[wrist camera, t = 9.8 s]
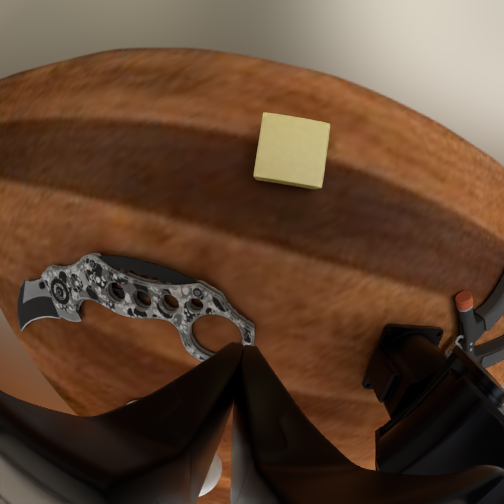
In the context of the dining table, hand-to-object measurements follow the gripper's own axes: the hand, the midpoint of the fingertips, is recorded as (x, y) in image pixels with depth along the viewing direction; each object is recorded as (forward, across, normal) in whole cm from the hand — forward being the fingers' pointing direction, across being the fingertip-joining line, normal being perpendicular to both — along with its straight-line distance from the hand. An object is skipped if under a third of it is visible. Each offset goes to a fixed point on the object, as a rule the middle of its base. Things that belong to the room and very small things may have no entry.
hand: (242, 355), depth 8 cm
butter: (+11, -1, -8) cm, 14 cm away
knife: (+11, +14, +6) cm, 19 cm away
